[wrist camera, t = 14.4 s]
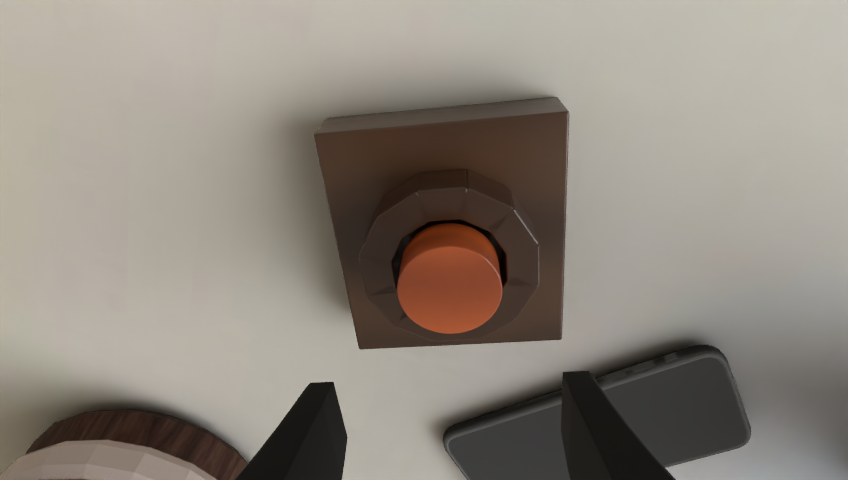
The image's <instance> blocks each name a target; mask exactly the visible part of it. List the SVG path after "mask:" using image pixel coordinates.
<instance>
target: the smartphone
mask: <svg viewBox="0 0 848 480" xmlns="http://www.w3.org/2000/svg"><path fill="white" fill-rule="evenodd" d="M596 381H597V382H598V384H599V385H600V387H601V388H602V390H603V391H604V393H605V394H606V395H607V397H608V398H609V400H610V401H611V402H612V404H613V405H614V407H615V408H616V409H617V411H618V412H619V413H620V415H621V416H622V417H623V419H624V420H625V421H626V422H627V424H628V425H629V426H630V427H631V429H632V430H633V431H634V432H635V434H636V435H637V436H638V437H639V438H640V440H641V441H642V442H643V443H644V445H645V446H646V447H647V448H648V449H649V450H650V452H651V453H652V454H653V455H654V456H655V457H656V459H657V460H658V461H659V462H660V463H661V464H662V465H663V466H664V467H665V468H666V467H670V466H673V465H677V464H681V463H685V462H688V461H692V460H696V459H700V458H704V457H707V456H711V455H715V454H719V453H722V452H726V451H730V450H734V449H737V448H740V447H742V446H744V445H745V444H746V443H747V442H748V441H749V439H750V435H751V427H750V424H749V421H748V418H747V416H746V413H745V410H744V407H743V404H742V401H741V398H740V396H739V393H738V390H737V387H736V384H735V381H734V378H733V375H732V372H731V370H730V367H729V364H728V361H727V359H726V357H725V356H724V354H723V353H722V352H721V351H720V350H719V349H717V348H715V347H714V346H710V345H697V346H693V347H690V348H687V349H684V350H681V351H678V352H674V353H671V354H668V355H665V356H663V357H660V358H657V359H654V360H650V361H646V362H643V363H640V364H637V365H634V366H631V367H629V368H626V369H622V370H619V371H616V372H613V373H610V374H607V375H604V376H602V377H599V378H596ZM561 409H562V390H559V391H556V392H553V393H550V394H547V395H544V396H541V397H538V398H535V399H532V400H529V401H526V402H523V403H520V404H517V405H514V406H511V407H508V408H505V409H502V410H499V411H496V412H493V413H490V414H487V415H484V416H481V417H477V418H474V419H471V420H468V421H465V422H462V423H459V424H456V425H453V426H451V427H450V428H448V429H447V430H446V431H445V433H444V435H443V444H444V448H445V450H446V452H447V453H448V454H449V456H450V457H451V458H452V460H453V461H454V462H455V464H456V465H457V466H458V468H459V469H460V470H461V472H462V473H463V474H464V476H465V477H466V478H467V480H571V479H570V476H569V472H568V468H567V462H566V457H565V452H564V446H563V440H562V435H561Z"/></svg>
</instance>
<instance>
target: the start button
mask: <svg viewBox="0 0 848 480" xmlns="http://www.w3.org/2000/svg"><path fill="white" fill-rule="evenodd" d="M397 295H398V299H399V302H400V305H401V307H402V308H403V310H404V312H405V313H406V314H407V316H408V317H409V318H410V319H411V320H413V321H414V322H415V323H417V324H418V325H420V326H421V327H423V328H426V329H428V330H431V331H434V332H439V333H447V334H454V333H462V332H466V331H469V330H472V329H475V328H477V327H479V326H480V325H482V324H484V323H485V322H486V321H487V320H489V319H490V318H491V317H492V316H493V314H494V313H495V312H496V310H497V308H498V306H499V304H500V302H501V298H502V281H501V275H500V268H499V262H498V257H497V253H496V251H495V248H494V247H493V245H492V243H491V242H490V241H489V240H488V238H487V237H485V236H484V235H483V234H482V233H480V232H479V231H477V230H475V229H474V228H472V227H469V226H466V225H462V224H456V223H443V224H437V225H433V226H430V227H428V228H426V229H424V230H422V231H420V232H419V233H418V234H416V235H415V236H414V237H413V238H412V239H411V240H410V241H409V243H408V244H407V246H406V247H405V250H404V252H403V255H402V260H401V266H400V272H399V277H398V283H397Z"/></svg>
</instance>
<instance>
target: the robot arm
mask: <svg viewBox="0 0 848 480" xmlns="http://www.w3.org/2000/svg"><path fill="white" fill-rule="evenodd" d="M561 435H562V440H563V446H564V452H565V457H566V462H567V468H568V472H569V476H570V479H571V480H676V479H675V478H674V477H673V476H672V475H671V474H670V473H669V472H668V471H667V470H666V469H665V467H664V466H663V465H662V464H661V463H660V462H659V461H658V460H657V459H656V457H655V456H654V455H653V454H652V453H651V452H650V450H649V449H648V448H647V447H646V446H645V445H644V443H643V442H642V441H641V440H640V438H639V437H638V436H637V435H636V434H635V432H634V431H633V430H632V429H631V427H630V426H629V425H628V424H627V422H626V421H625V420H624V419H623V417H622V416H621V415H620V413H619V412H618V411H617V409H616V408H615V407H614V405H613V404H612V402H611V401H610V400H609V398H608V397H607V395H606V394H605V393H604V391H603V390H602V388H601V387H600V385H599V384H598V382H597V381H596V379H595V378H594V376H593V375H592V374H591V373H590V372H589V371H576V372H563V381H562V409H561ZM346 444H347V434H346V430H345V426H344V422H343V418H342V414H341V410H340V406H339V403H338V399H337V395H336V391H335V387H334V383H333V382H321V383H310V384H309V385H308V386H307V387H306V388H305V390H304V391H303V393H302V394H301V395H300V397H299V398H298V400H297V401H296V402H295V404H294V405H293V406H292V408H291V409H290V411H289V412H288V413H287V415H286V416H285V417H284V419H283V420H282V421H281V423H280V424H279V425H278V427H277V428H276V429H275V431H274V432H273V433H272V435H271V436H270V437H269V438H268V440H267V441H266V442H265V444H264V445H263V446H262V447H261V449H260V450H259V451H258V453H257V454H256V455H255V456H254V457H253V459H252V460H251V461H250V462H249V463H248V465H247V466H246V467H245V468H244V469H243V470H242V472H241V473H240V474H239V475H238V476H237V477H236V479H235V480H342V474H343V467H344V460H345V452H346Z"/></svg>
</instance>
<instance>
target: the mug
mask: <svg viewBox="0 0 848 480" xmlns="http://www.w3.org/2000/svg"><path fill="white" fill-rule="evenodd" d="M247 465H248V463H247V462H246V460H245V459H244V458H243V457H242V456H241V455H240V454H239V452H238V451H237V450H235V449H234V448H233V447H231V446H230V445H228V444H227V443H225V442H224V441H222V440H221V439H219V438H218V437H216V436H215V435H213V434H212V433H210V432H209V431H207V430H205V429H202V428H200V427H197V426H195V425H192V424H190V423H187V422H185V421H182V420H180V419H177V418H175V417H172V416H167V415H162V414H156V413H151V412H145V411H140V410H109V411H94V412H86V413H83V414H80V415H77V416H74V417H71V418H68V419H65V420H62V421H59V422H56V423H54V424H53V425H52V426H50V427H49V428H48V429H47V430H46V431H45V432H44V433H43V434H42V435H40V436H39V437H38V438H37V439H36V440H35V441H34V442H33V444H32V445H31V447H30V448H29V449H28V451H27V452H26V454H25V455H23V456H20V457H19V458H18V459H17V460H16V461H15V462H13V463H12V464H11V465H10V466H9V467H8V468H7V469H6V470H5V471H3V472H2V473H1V474H0V480H235V479H236V477H237V476H238V475H239V474H240V473H241V472H242V470H243V469H244V468H245V467H246V466H247Z"/></svg>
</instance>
